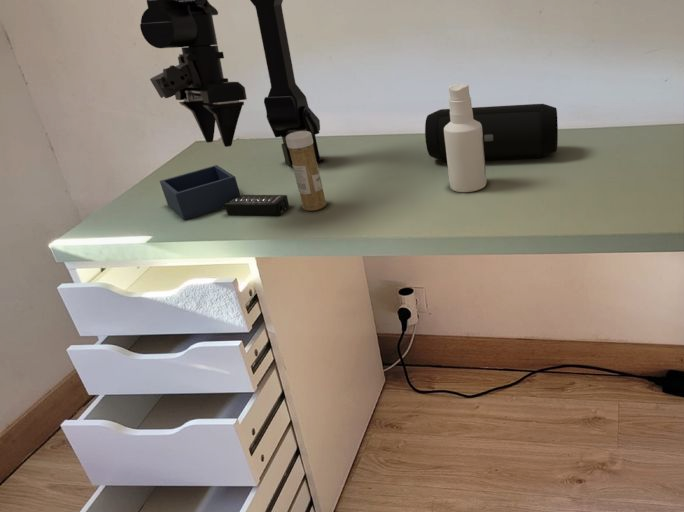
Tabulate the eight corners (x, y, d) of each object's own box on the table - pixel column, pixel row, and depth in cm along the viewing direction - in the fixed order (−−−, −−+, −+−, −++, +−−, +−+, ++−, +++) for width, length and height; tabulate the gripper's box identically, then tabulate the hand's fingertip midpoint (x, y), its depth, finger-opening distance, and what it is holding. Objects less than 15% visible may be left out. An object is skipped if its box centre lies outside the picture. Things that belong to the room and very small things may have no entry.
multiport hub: (238, 206, 135) (235, 194, 133) (290, 206, 132) (287, 194, 130) (226, 215, 131) (222, 203, 130) (279, 216, 128) (276, 203, 127)
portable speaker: (428, 168, 142) (421, 118, 137) (437, 152, 150) (431, 104, 145) (555, 163, 137) (554, 111, 132) (558, 146, 146) (557, 96, 140)
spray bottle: (491, 180, 133) (483, 80, 123) (480, 193, 128) (471, 90, 118) (457, 179, 135) (446, 81, 126) (445, 192, 130) (433, 91, 120)
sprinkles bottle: (331, 206, 130) (315, 133, 122) (308, 213, 128) (290, 139, 120) (320, 200, 133) (305, 128, 126) (298, 207, 131) (280, 134, 124)
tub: (224, 189, 144) (216, 164, 141) (242, 202, 136) (235, 176, 133) (168, 205, 139) (159, 180, 136) (184, 220, 131) (175, 194, 128)
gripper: (133, 50, 119) (155, 146, 125) (165, 48, 105) (188, 155, 112) (199, 46, 125) (217, 138, 131) (238, 43, 111) (256, 146, 117)
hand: (218, 144), depth 123 cm, fingers open, 9 cm apart
